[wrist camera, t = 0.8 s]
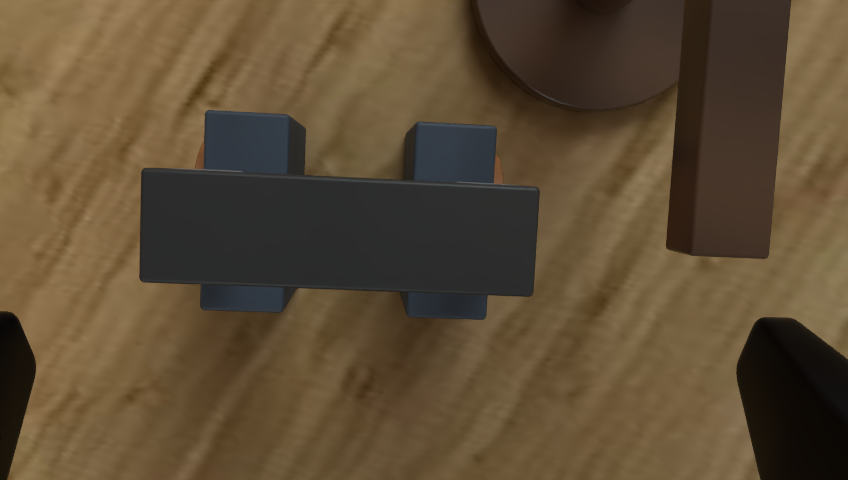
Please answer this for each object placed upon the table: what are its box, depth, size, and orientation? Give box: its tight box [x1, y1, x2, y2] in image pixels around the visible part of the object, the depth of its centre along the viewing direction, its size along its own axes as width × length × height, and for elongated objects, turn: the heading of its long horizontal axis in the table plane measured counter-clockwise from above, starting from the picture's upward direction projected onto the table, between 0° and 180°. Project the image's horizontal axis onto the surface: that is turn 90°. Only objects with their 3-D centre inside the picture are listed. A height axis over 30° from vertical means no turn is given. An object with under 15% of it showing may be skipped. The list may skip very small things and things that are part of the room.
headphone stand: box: [471, 0, 791, 259], centre depth 18 cm, size 11×8×11 cm
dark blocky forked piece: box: [139, 110, 540, 320], centre depth 18 cm, size 5×8×10 cm, turn 87°
